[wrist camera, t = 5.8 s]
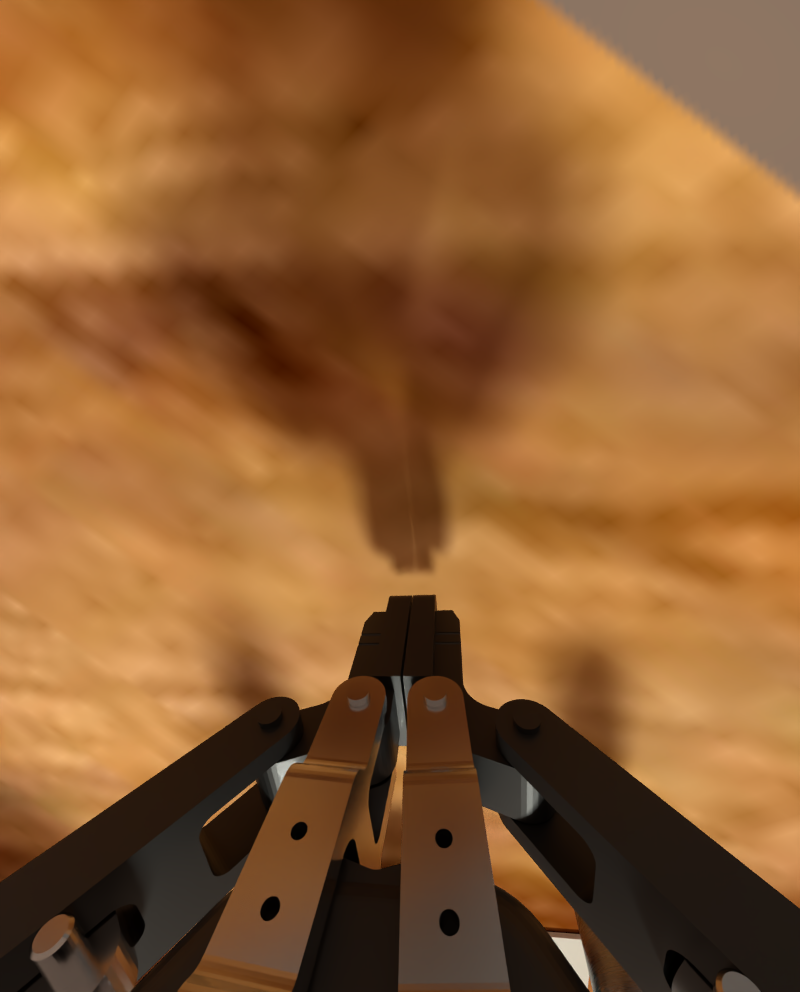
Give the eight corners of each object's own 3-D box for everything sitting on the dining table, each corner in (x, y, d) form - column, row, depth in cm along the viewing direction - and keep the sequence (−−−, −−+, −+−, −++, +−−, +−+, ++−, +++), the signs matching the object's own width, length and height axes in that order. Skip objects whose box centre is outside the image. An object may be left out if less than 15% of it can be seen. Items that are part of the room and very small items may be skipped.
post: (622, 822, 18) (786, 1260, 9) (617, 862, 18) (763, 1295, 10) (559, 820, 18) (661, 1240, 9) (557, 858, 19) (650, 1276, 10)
